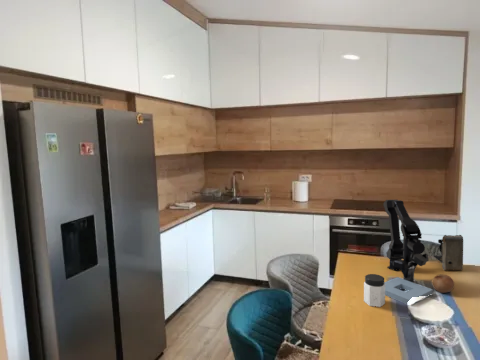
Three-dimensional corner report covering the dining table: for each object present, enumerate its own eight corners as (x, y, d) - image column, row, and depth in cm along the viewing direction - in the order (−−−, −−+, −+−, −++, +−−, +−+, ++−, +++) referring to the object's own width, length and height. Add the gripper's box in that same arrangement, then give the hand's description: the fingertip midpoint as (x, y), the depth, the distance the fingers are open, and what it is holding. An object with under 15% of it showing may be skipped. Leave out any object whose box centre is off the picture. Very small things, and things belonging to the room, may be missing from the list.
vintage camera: (449, 262, 198) (449, 228, 197) (463, 271, 183) (463, 235, 181) (431, 262, 199) (431, 229, 198) (444, 271, 184) (444, 236, 182)
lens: (406, 278, 177) (407, 262, 176) (415, 281, 173) (416, 264, 172) (401, 280, 175) (401, 264, 174) (410, 284, 171) (410, 267, 170)
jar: (364, 305, 151) (364, 280, 150) (363, 297, 159) (363, 273, 157) (385, 308, 148) (386, 282, 147) (384, 299, 156) (384, 274, 155)
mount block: (397, 281, 174) (397, 277, 174) (432, 294, 159) (432, 289, 159) (375, 291, 165) (375, 286, 164) (410, 305, 149) (410, 300, 149)
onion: (436, 298, 161) (428, 282, 159) (436, 286, 168) (428, 270, 167) (458, 296, 156) (450, 279, 154) (456, 283, 163) (449, 267, 161)
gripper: (414, 255, 160) (413, 286, 162) (435, 247, 170) (434, 277, 172) (392, 249, 170) (392, 279, 172) (414, 242, 179) (413, 270, 181)
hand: (408, 276), depth 174 cm, fingers closed on lens, 5 cm apart
